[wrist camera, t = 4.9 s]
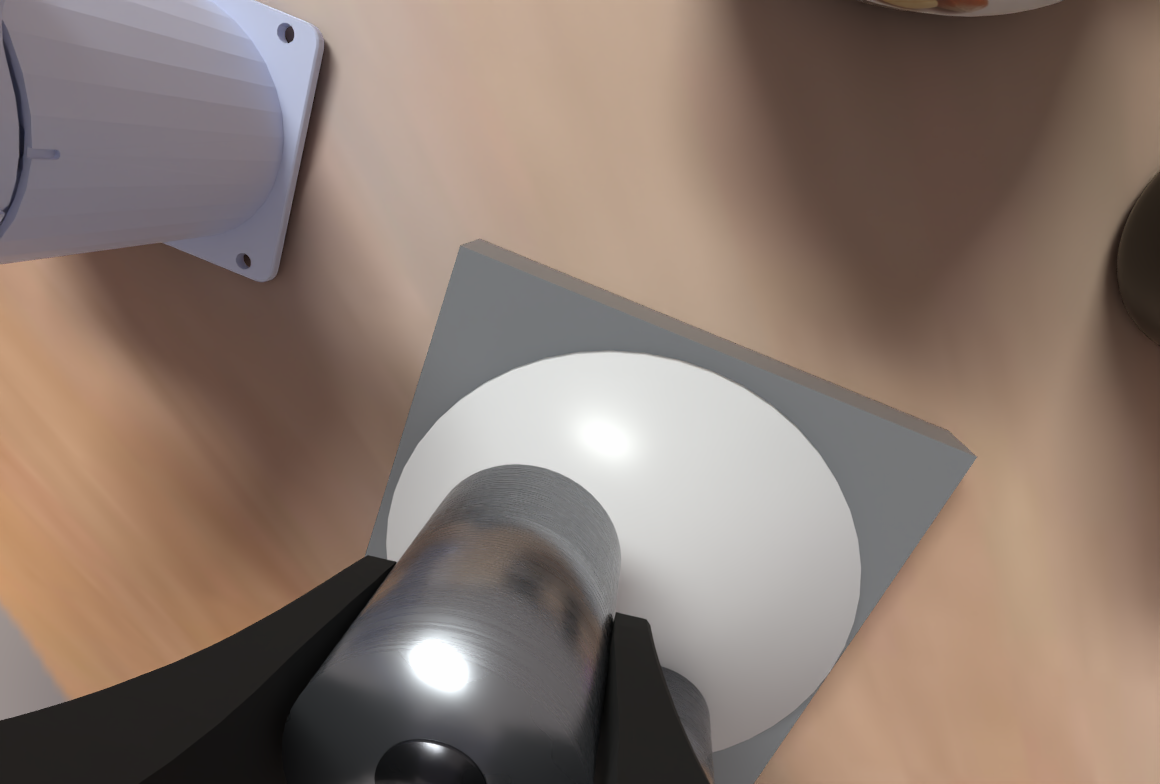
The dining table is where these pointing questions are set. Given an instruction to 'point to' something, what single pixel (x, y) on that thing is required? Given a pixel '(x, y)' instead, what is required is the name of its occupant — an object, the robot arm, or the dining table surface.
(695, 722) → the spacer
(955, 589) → the dining table surface
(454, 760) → the cylinder
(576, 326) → the kitchen scale
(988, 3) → the spread jar
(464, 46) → the dining table surface
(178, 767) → the robot arm
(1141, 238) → the supplement bottle
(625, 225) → the dining table surface
